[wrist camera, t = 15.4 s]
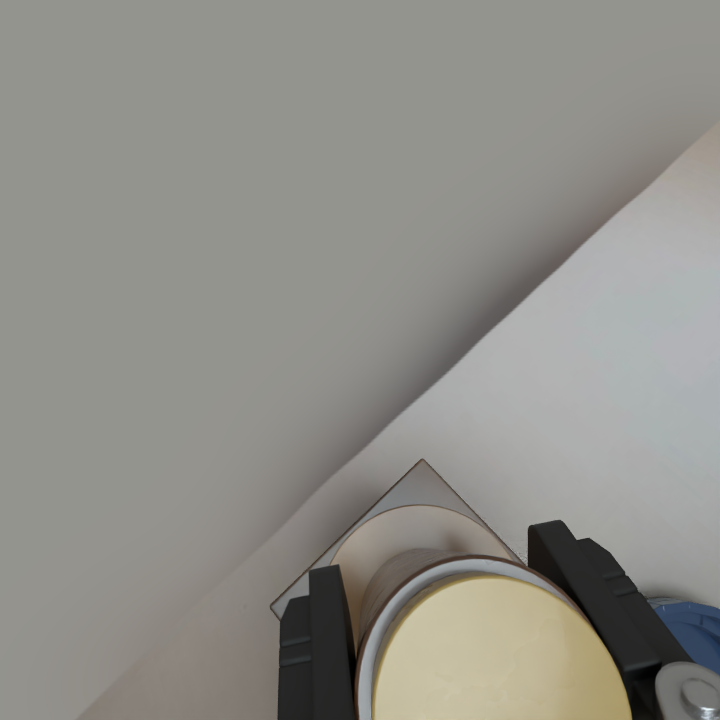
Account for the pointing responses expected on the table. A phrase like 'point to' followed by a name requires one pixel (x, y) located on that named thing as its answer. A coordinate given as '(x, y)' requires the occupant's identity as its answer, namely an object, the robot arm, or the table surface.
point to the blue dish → (692, 628)
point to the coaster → (405, 545)
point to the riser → (409, 490)
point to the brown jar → (478, 645)
